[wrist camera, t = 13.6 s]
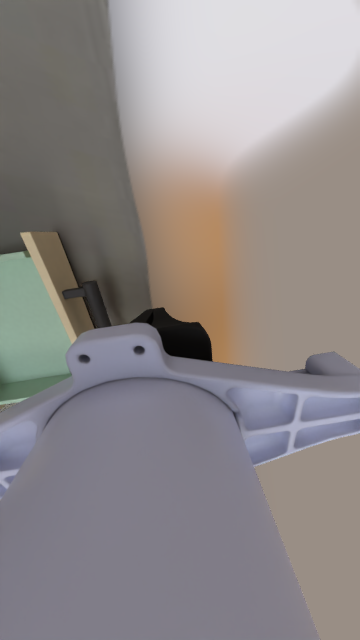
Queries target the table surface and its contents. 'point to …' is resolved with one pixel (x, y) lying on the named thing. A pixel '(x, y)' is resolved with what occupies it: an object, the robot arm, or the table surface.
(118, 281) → the table surface
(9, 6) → the table surface
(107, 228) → the table surface
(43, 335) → the wooden drawer
